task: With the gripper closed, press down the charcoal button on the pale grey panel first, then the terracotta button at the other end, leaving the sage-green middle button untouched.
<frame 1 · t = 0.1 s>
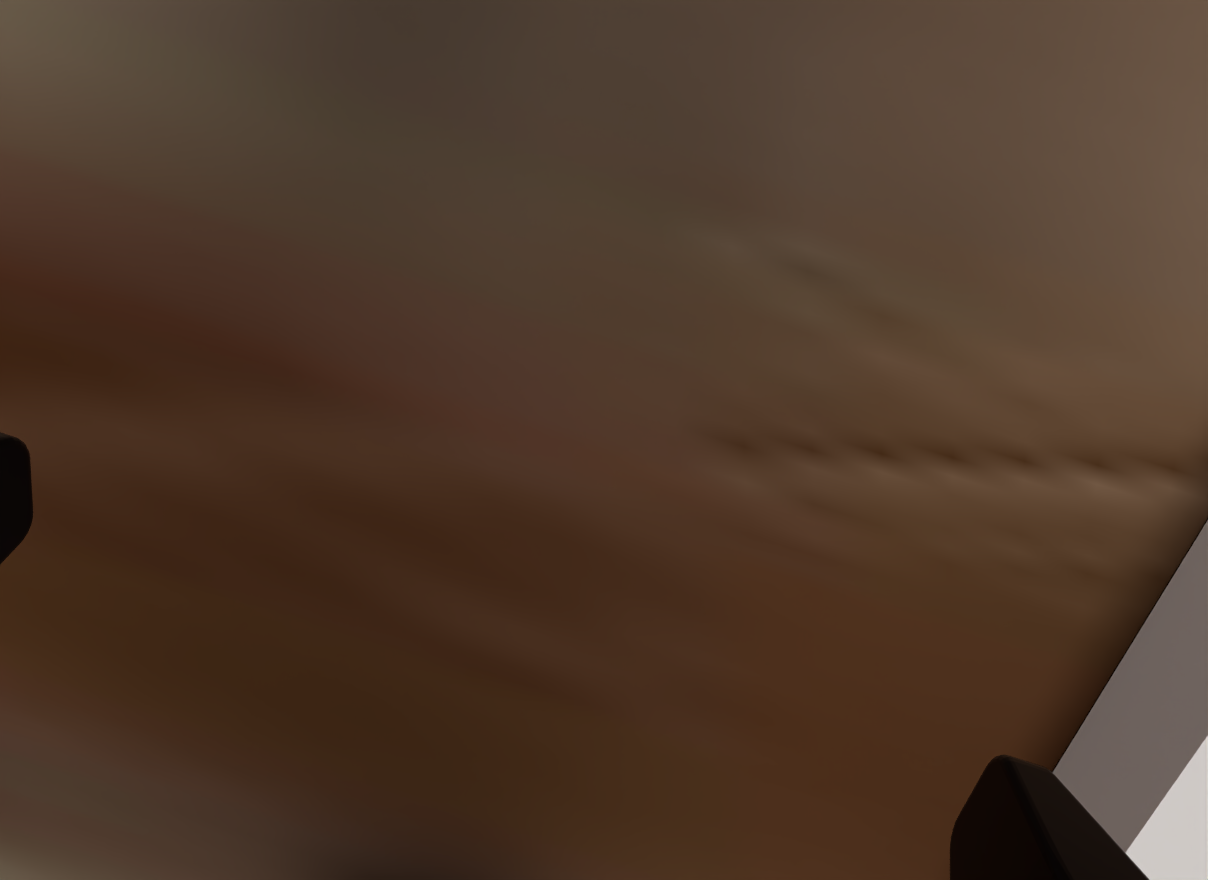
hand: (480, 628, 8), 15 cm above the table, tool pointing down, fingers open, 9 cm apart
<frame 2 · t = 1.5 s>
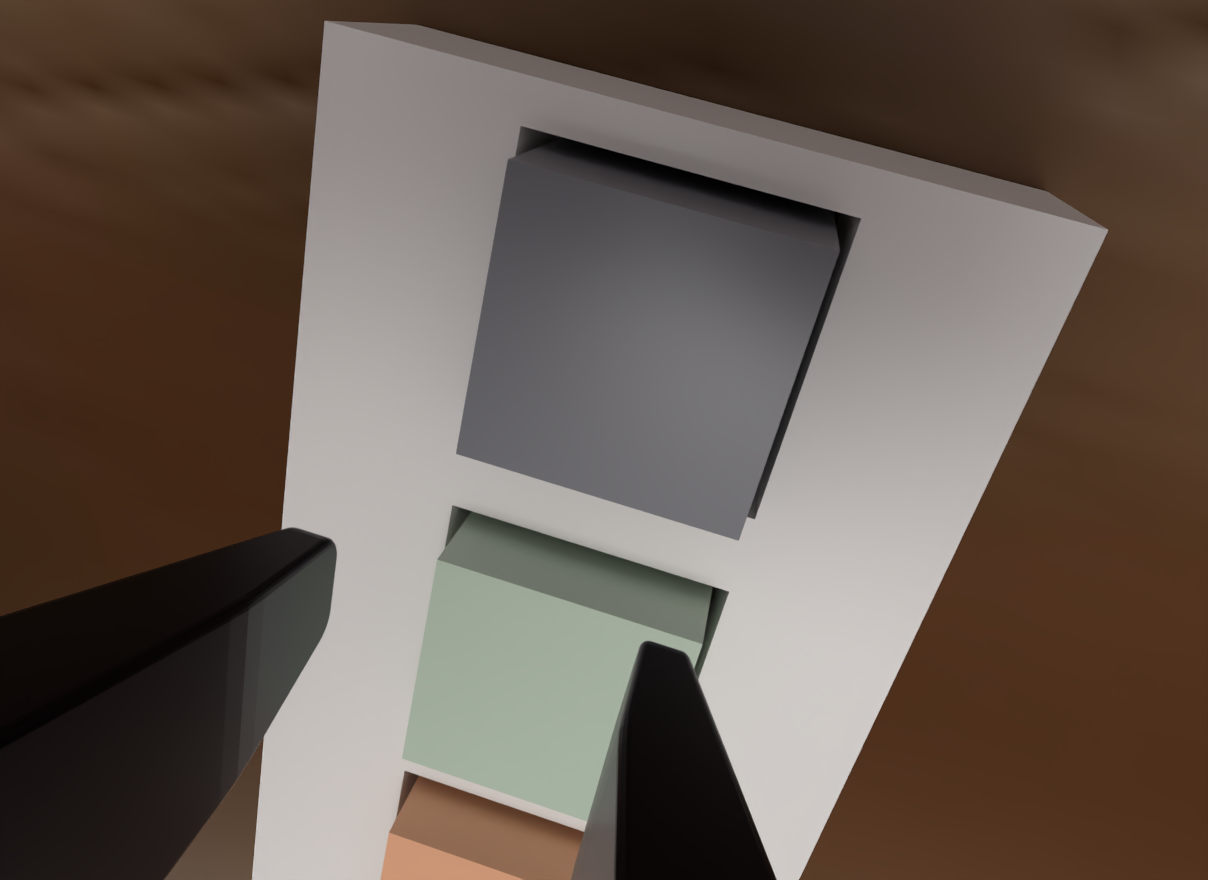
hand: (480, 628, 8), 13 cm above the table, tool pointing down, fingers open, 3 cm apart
button panel: (598, 562, 23), on the table
sage button: (563, 649, 20), point 4 cm above the table, slide at 0.0 cm
charcoal button: (648, 329, 16), point 4 cm above the table, slide at 0.0 cm
terracotta button: (502, 879, 23), point 4 cm above the table, slide at 0.0 cm
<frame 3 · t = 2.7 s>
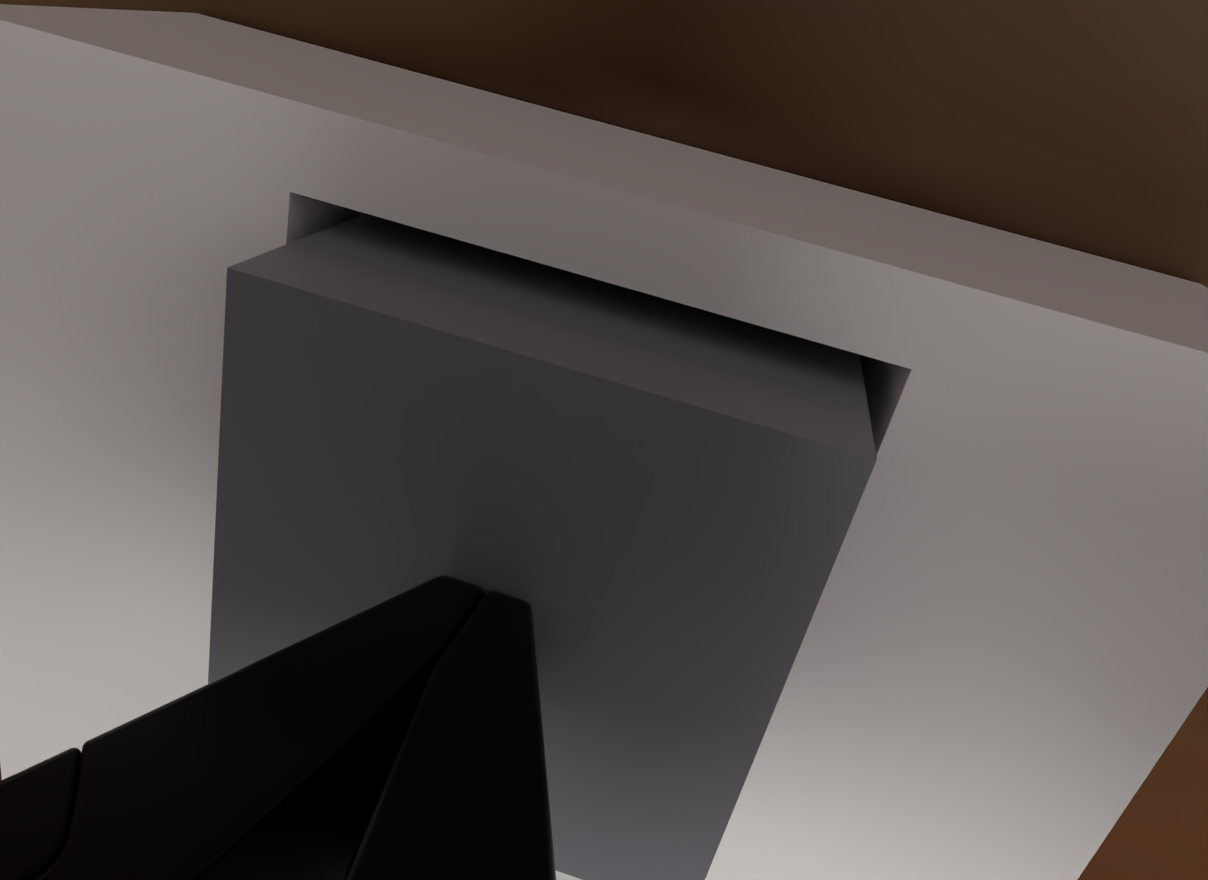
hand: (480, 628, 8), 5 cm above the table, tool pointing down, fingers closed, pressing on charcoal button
button panel: (512, 780, 16), on the table
charcoal button: (539, 527, 10), point 4 cm above the table, slide at 0.0 cm, touching gripper
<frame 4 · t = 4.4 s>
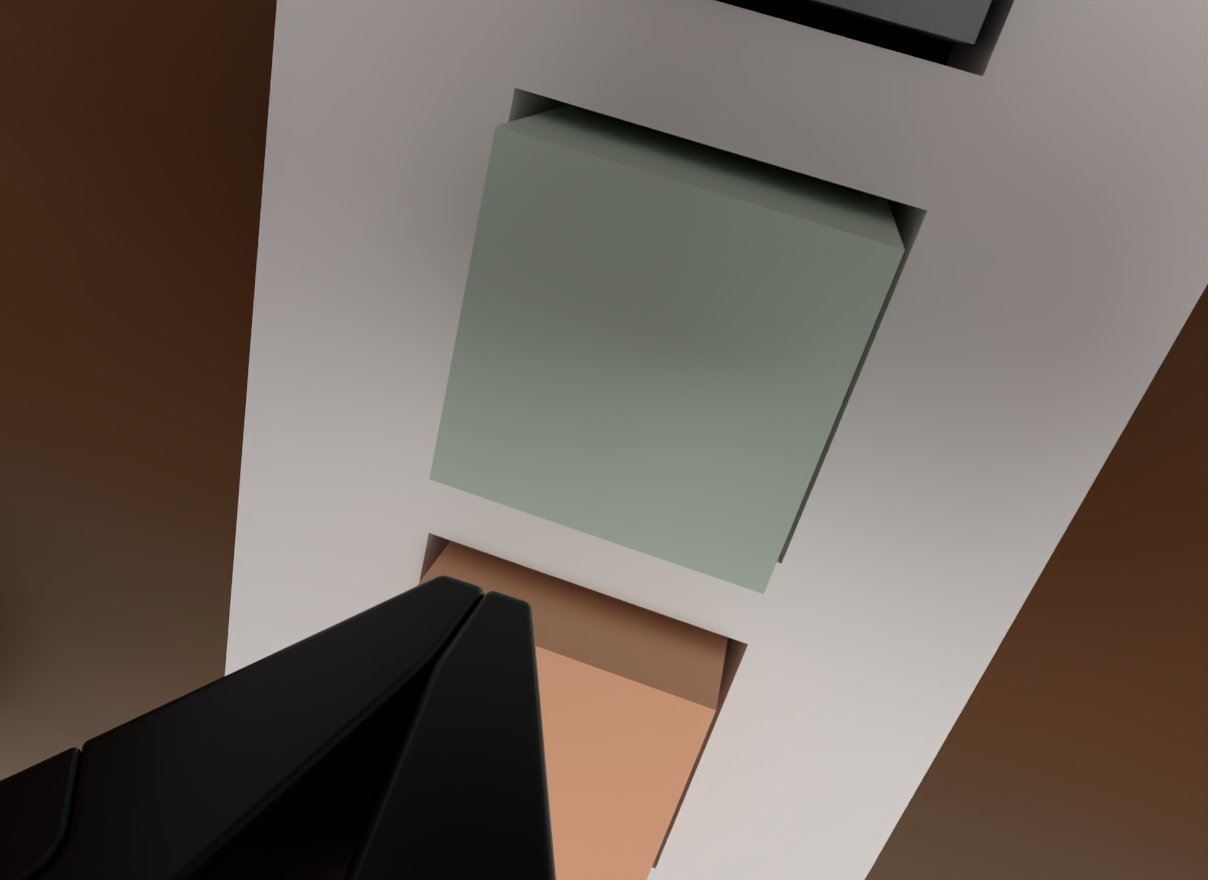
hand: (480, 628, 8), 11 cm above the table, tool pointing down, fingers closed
button panel: (693, 278, 17), on the table
sage button: (662, 336, 14), point 4 cm above the table, slide at 0.0 cm
terracotta button: (554, 698, 17), point 4 cm above the table, slide at 0.0 cm
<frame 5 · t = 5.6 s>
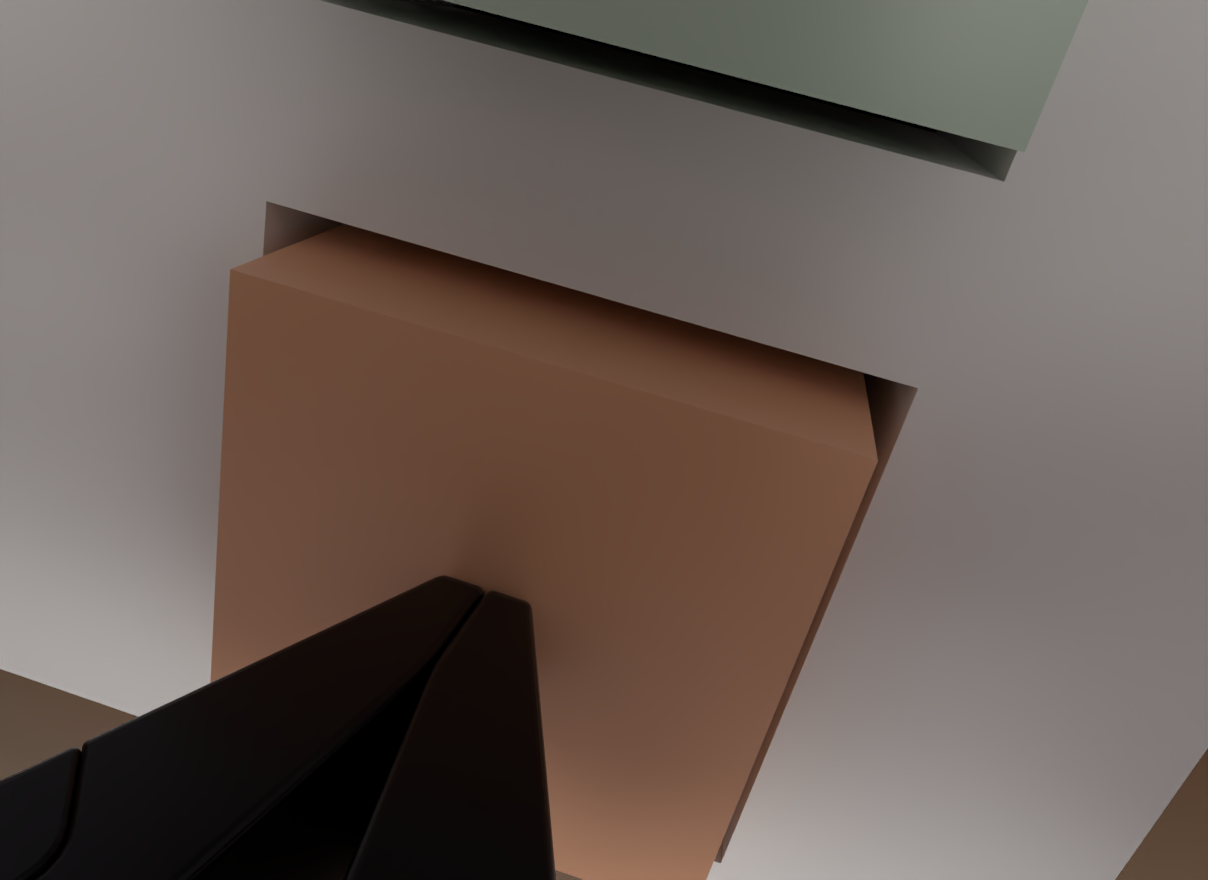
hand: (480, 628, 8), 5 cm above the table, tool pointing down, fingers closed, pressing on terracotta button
terracotta button: (541, 528, 10), point 3 cm above the table, slide at 0.5 cm, touching gripper
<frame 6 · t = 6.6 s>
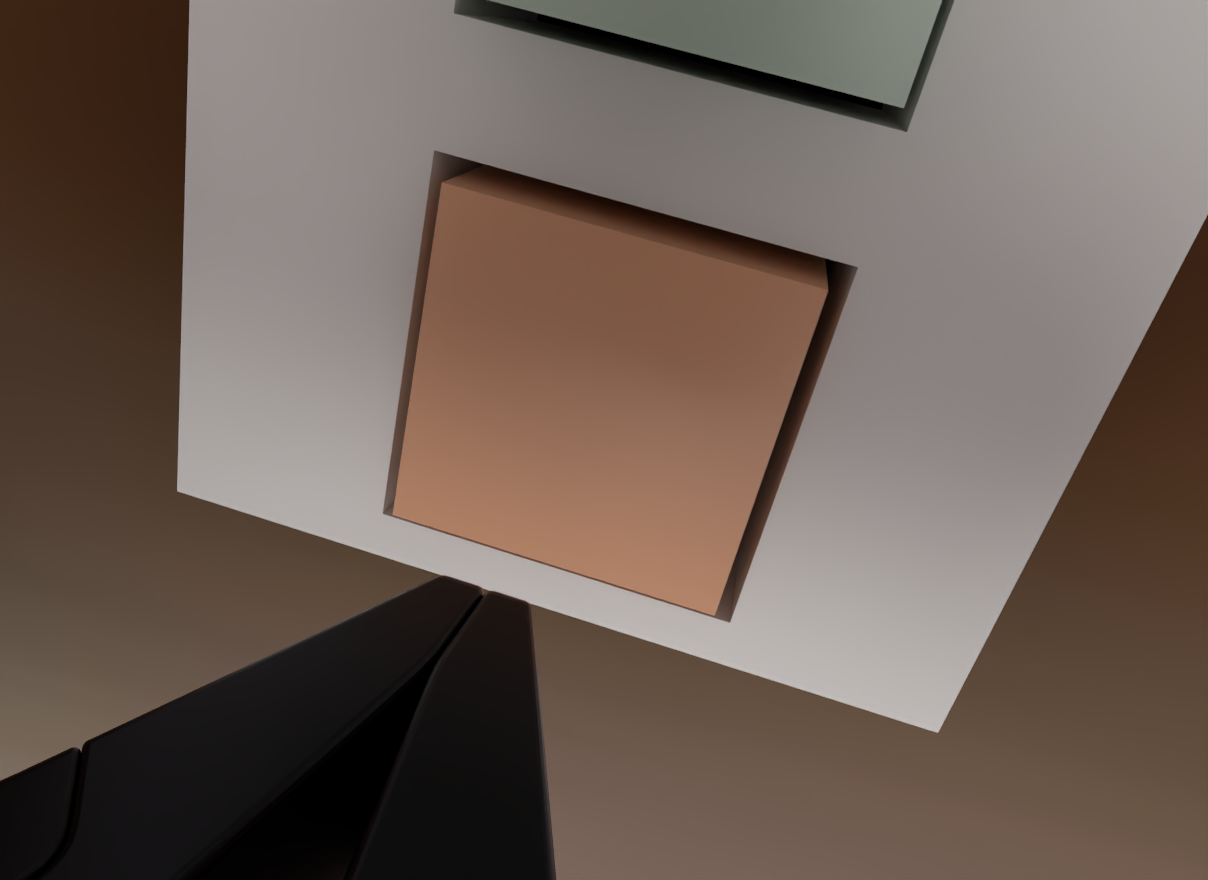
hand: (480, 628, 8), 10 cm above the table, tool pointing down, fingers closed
terracotta button: (612, 371, 14), point 3 cm above the table, slide at 1.1 cm
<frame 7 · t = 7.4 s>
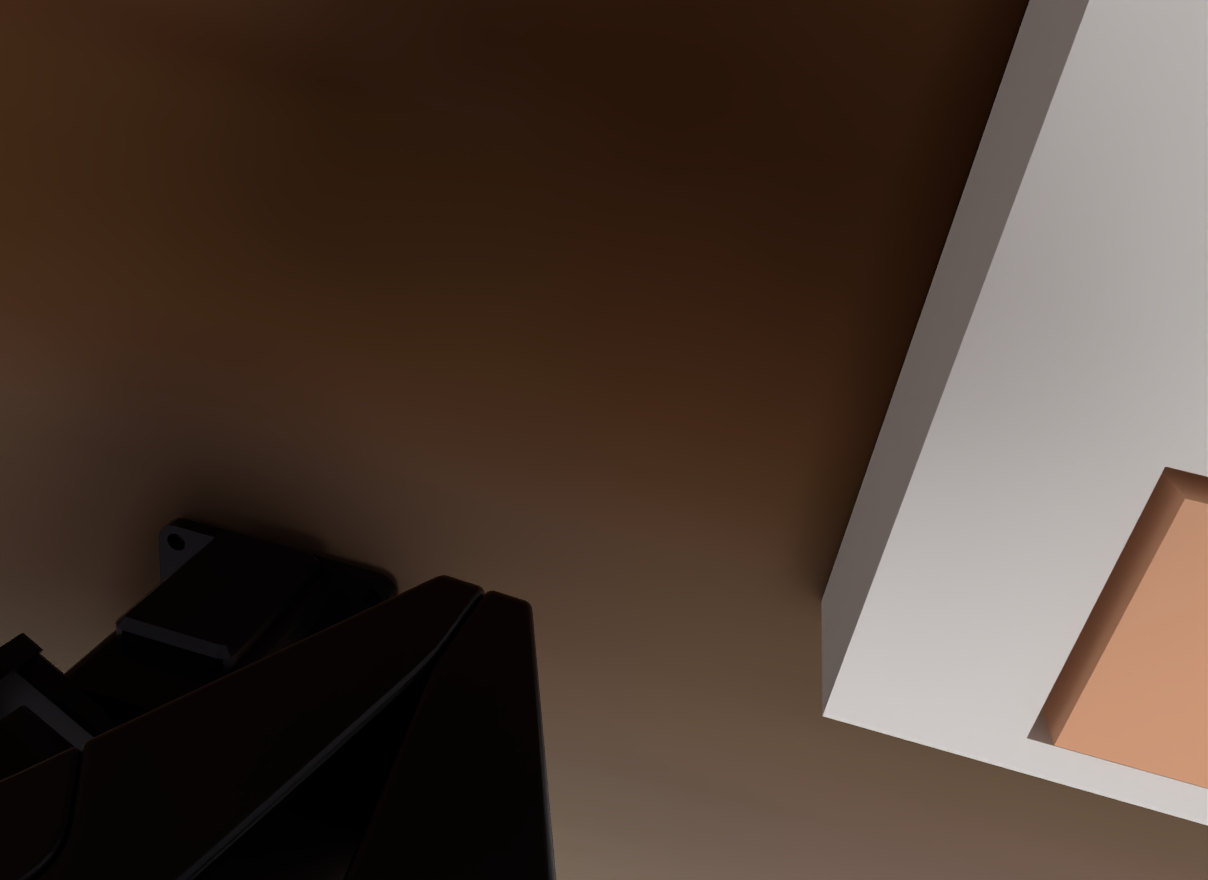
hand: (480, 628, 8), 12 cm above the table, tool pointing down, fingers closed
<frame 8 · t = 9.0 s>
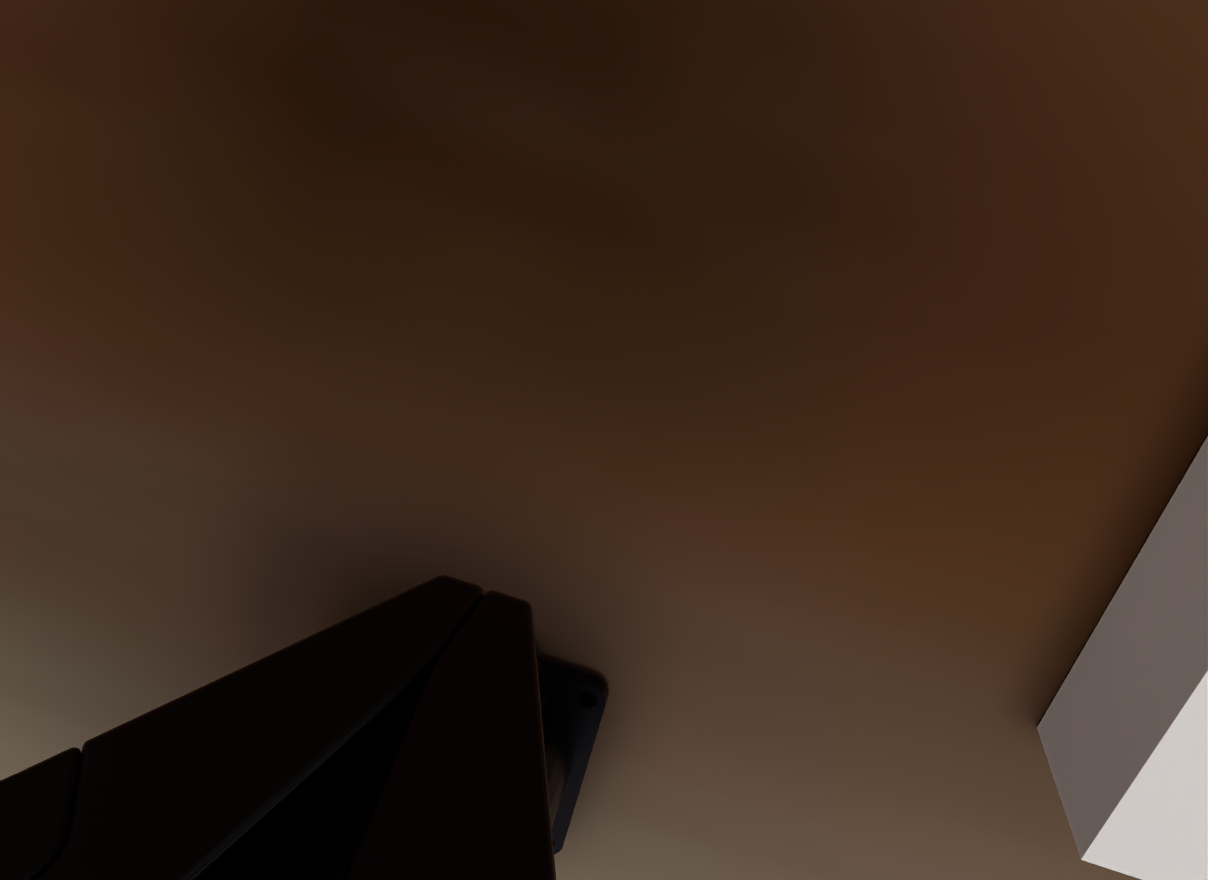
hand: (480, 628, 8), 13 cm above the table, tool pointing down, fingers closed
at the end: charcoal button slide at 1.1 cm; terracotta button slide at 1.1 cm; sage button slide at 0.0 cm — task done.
